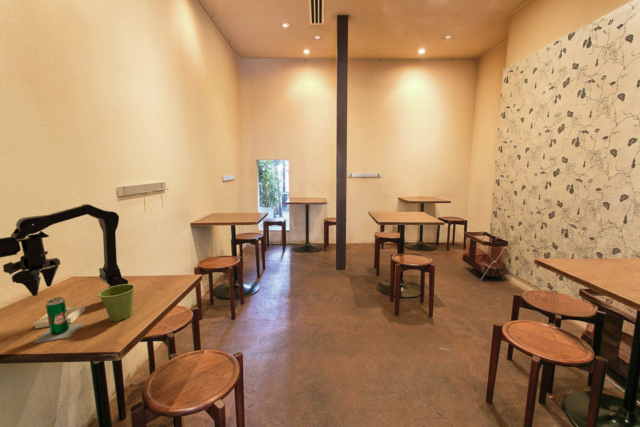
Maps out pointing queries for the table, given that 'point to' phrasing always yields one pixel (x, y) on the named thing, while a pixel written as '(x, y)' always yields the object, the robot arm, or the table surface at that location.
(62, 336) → the grey mat
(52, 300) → the soda can
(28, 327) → the table surface
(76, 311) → the block
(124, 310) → the plant pot
